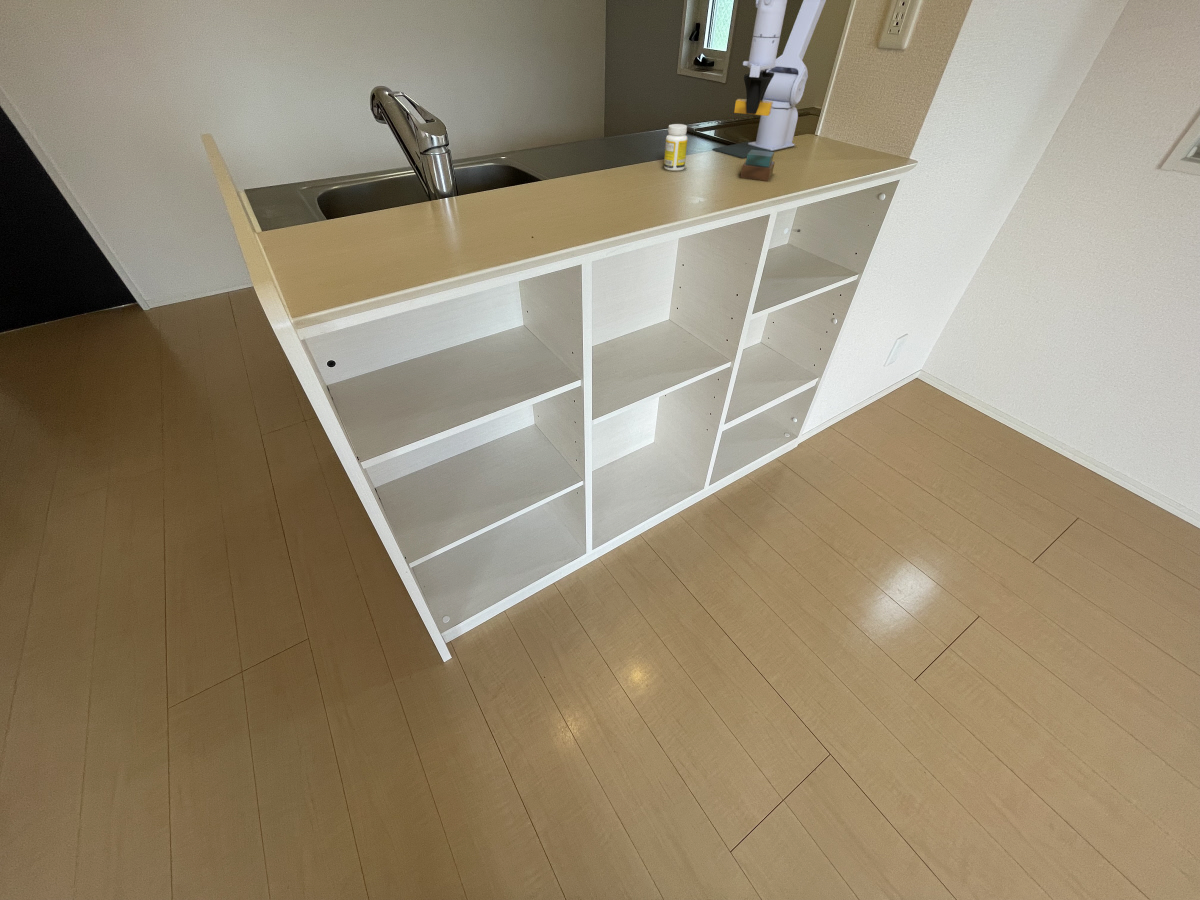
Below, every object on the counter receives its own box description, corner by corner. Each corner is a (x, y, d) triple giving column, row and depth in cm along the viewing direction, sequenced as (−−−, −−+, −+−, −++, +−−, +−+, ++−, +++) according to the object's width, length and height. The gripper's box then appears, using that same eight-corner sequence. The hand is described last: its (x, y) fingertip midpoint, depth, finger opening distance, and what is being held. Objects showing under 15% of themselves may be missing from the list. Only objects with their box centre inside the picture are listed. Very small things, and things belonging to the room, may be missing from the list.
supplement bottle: (684, 166, 118) (688, 123, 112) (684, 171, 114) (689, 128, 108) (663, 165, 118) (667, 123, 112) (663, 170, 114) (667, 127, 109)
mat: (748, 142, 135) (749, 141, 135) (778, 150, 129) (779, 148, 129) (712, 149, 129) (712, 148, 129) (742, 158, 123) (742, 156, 123)
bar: (733, 112, 118) (735, 100, 116) (736, 110, 120) (738, 98, 118) (768, 115, 116) (771, 103, 114) (770, 113, 118) (773, 101, 116)
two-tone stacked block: (740, 177, 111) (744, 154, 108) (745, 170, 115) (749, 148, 112) (767, 181, 109) (772, 157, 106) (772, 174, 113) (777, 151, 110)
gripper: (753, 33, 114) (741, 105, 124) (741, 38, 105) (728, 115, 114) (785, 34, 112) (770, 107, 122) (775, 40, 103) (760, 118, 112)
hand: (752, 111), depth 118 cm, fingers closed on bar, 3 cm apart
